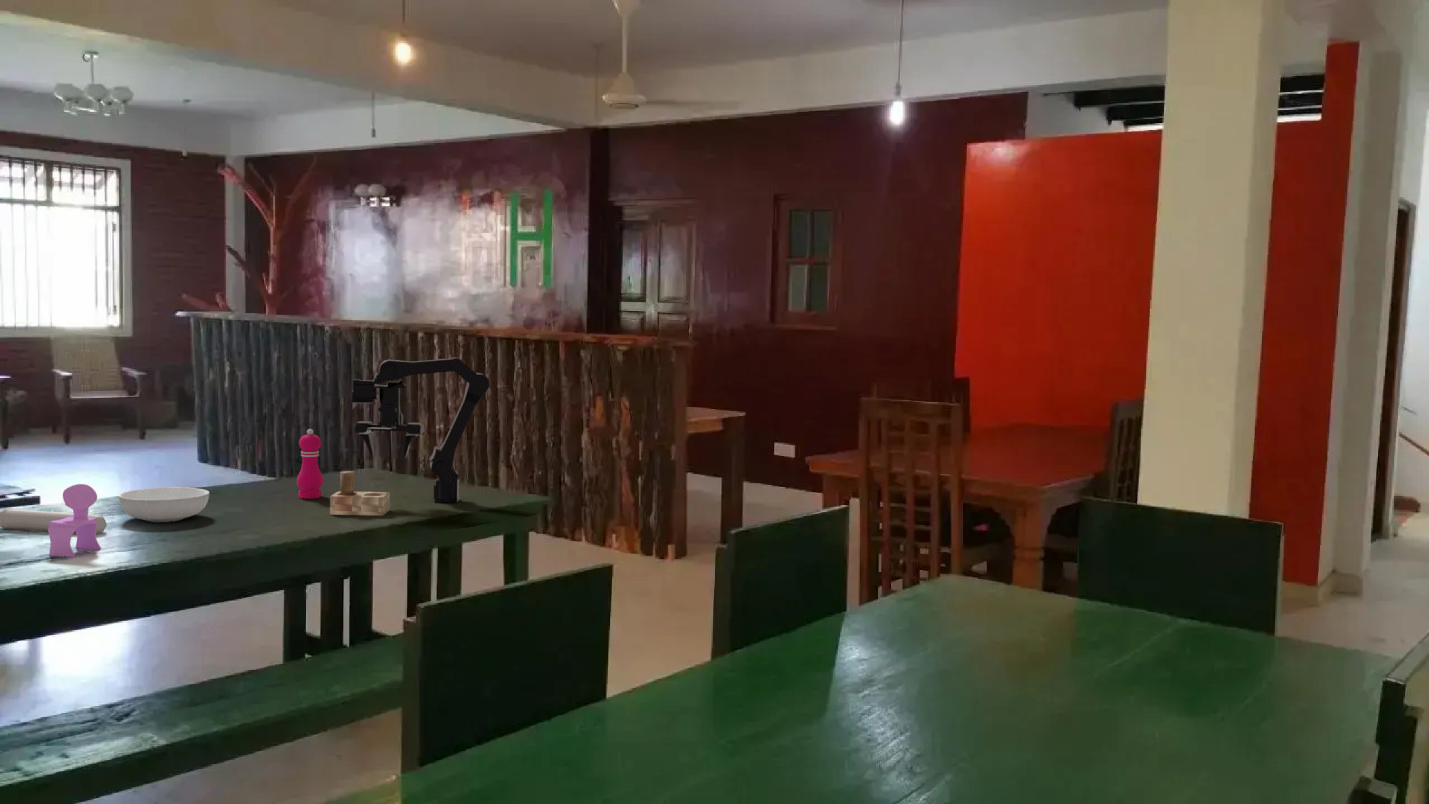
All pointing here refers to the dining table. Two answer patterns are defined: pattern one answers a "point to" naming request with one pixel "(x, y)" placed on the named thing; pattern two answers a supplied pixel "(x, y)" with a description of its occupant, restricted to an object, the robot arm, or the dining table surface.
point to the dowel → (347, 483)
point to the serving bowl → (163, 503)
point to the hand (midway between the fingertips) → (388, 457)
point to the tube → (39, 519)
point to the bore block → (360, 503)
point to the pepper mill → (310, 467)
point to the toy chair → (74, 522)
